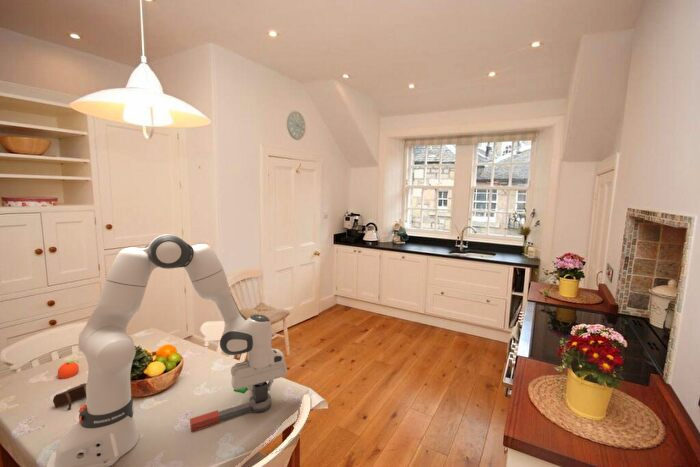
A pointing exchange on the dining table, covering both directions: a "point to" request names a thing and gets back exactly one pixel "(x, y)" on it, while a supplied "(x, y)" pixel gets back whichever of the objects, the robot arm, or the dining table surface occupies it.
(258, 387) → the socket
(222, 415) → the ratchet
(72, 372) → the orange tomato
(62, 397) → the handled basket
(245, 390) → the pipe clamp
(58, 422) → the dining table surface
